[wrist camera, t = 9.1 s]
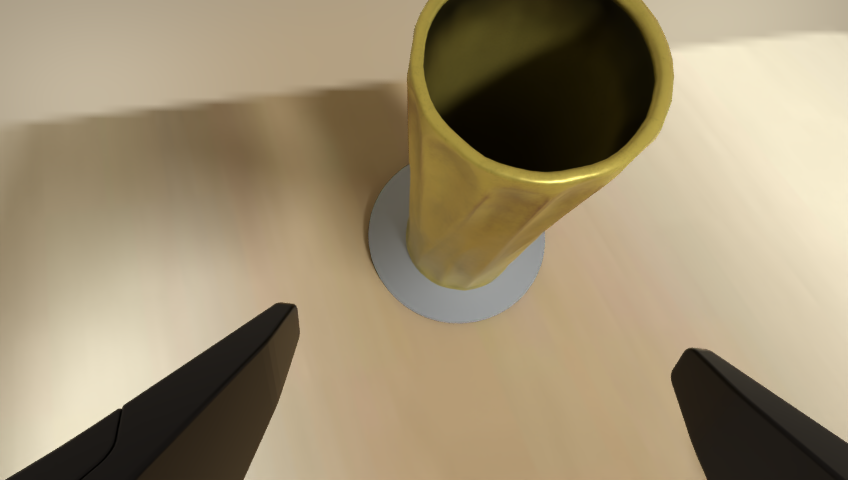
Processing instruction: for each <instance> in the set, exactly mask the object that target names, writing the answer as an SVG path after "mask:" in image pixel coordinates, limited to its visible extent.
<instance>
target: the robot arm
mask: <svg viewBox="0 0 848 480" xmlns="http://www.w3.org/2000/svg"><path fill="white" fill-rule="evenodd" d="M299 334H300V328H299V319H298V310H297V307H296V305H295V304H290V303H281V302H280V303H276V304H274V305H273V306H271V307H270V308H268V309H267V310H265V311H264V312H262V313H261V314H259V315H258V316H256V317H255V318H253V319H252V320H250V321H249V322H247V323H246V324H244V325H243V326H241V327H240V328H238V329H237V330H235V331H234V332H232V333H231V334H229V335H228V336H226V337H225V338H224V339H222V340H221V341H219V342H218V343H216V344H215V345H213V346H212V347H210V348H209V349H207V350H206V351H204V352H203V353H201V354H200V355H198V356H197V357H195V358H194V359H192V360H191V361H189V362H188V363H186V364H185V365H183V366H182V367H180V368H179V369H177V370H176V371H174V372H173V373H171V374H170V375H168V376H167V377H165V378H164V379H162V380H161V381H159V382H158V383H156V384H155V385H153V386H152V387H150V388H149V389H147V390H146V391H144V392H143V393H141V394H140V395H138V396H137V397H135V398H134V399H132V400H131V401H129V402H128V403H126V404H125V405H124V406H123V407H122V409H117V410H116V411H114V412H113V413H111V414H110V415H108V416H107V417H105V418H104V419H102V420H101V421H99V422H98V423H96V424H95V425H93V426H91V427H90V428H88V429H87V430H85V431H84V432H82V433H81V434H79V435H77V436H76V437H74V438H73V439H71V440H70V441H68V442H67V443H65V444H63V445H62V446H60V447H59V448H57V449H55V450H54V451H52V452H51V453H49V454H47V455H46V456H44V457H42V458H41V459H39V460H37V461H36V462H34V463H32V464H31V465H29V466H27V467H26V468H24V469H22V470H21V471H19V472H17V473H16V474H14V475H12V476H11V477H9V478H7V479H6V480H244V478H245V475H246V473H247V471H248V469H249V466H250V464H251V462H252V460H253V458H254V455H255V453H256V451H257V449H258V446H259V444H260V442H261V440H262V438H263V435H264V433H265V431H266V429H267V426H268V424H269V422H270V420H271V418H272V415H273V413H274V411H275V408H276V406H277V404H278V401H279V398H280V395H281V392H282V389H283V386H284V383H285V380H286V377H287V374H288V371H289V368H290V365H291V362H292V358H293V355H294V352H295V349H296V346H297V343H298V340H299ZM671 381H672V385H673V388H674V391H675V394H676V397H677V400H678V403H679V406H680V409H681V412H682V415H683V418H684V421H685V424H686V427H687V430H688V433H689V436H690V439H691V442H692V445H693V447H694V450H695V452H696V455H697V457H698V460H699V462H700V464H701V467H702V469H703V471H704V473H705V476H706V478H707V480H848V443H847V442H845V441H844V440H842V439H841V438H839V437H838V436H836V435H835V434H833V433H832V432H830V431H829V430H827V429H826V428H824V427H823V426H821V425H820V424H818V423H817V422H815V421H814V420H812V419H811V418H810V417H808V416H807V415H805V414H804V413H802V412H801V411H799V410H798V409H796V408H795V407H793V406H792V405H790V404H789V403H787V402H786V401H784V400H783V399H781V398H780V397H778V396H777V395H775V394H774V393H773V392H771V391H770V390H768V389H767V388H765V387H764V386H762V385H761V384H759V383H758V382H756V381H755V380H753V379H752V378H750V377H749V376H747V375H746V374H744V373H743V372H741V371H740V370H738V369H737V368H735V367H734V366H733V365H731V364H730V363H728V362H727V361H725V360H724V359H722V358H721V357H719V356H718V355H716V354H715V353H713V352H712V351H710V350H707V349H700V348H688V349H686V350H685V351H684V353H683V354H682V356H681V357H680V359H679V361H678V362H677V364H676V365H675V367H674V368H673V370H672V373H671Z"/></svg>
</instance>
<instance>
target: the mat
mask: <svg viewBox="0 0 848 480" xmlns="http://www.w3.org/2000/svg"><path fill="white" fill-rule="evenodd" d="M409 195H410V164H409V165H407V166H406V167H404V168H403V169H401V170H400V171H399V172H398V173H396V174H395V175H394V176H393V177H392V178H391V179H390V180H389V182H388V183H387V184H386V185H385V187H384V188H383V189H382V191H381V192H380V194H379V196H378V198H377V200H376V202H375V204H374V207H373V210H372V213H371V218H370V222H369V234H368V237H369V248H370V253H371V258H372V261H373V264H374V266H375V269H376V271H377V273H378V275H379V277H380V279H381V280H382V282H383V283H384V285H385V286H386V288H387V289H388V290H389V291H390V292H391V294H392V295H393V296H394V297H395V298H396V299H397V300H398V301H400V302H401V303H402V304H403V305H404V306H406V307H407V308H409V309H410V310H412V311H414V312H415V313H417V314H419V315H422V316H424V317H426V318H429V319H432V320H436V321H440V322H446V323H469V322H476V321H480V320H484V319H487V318H490V317H492V316H495V315H497V314H499V313H501V312H503V311H505V310H506V309H508V308H509V307H511V306H512V305H513V304H514V303H516V302H517V301H518V300H519V299H520V298H521V297H522V296H523V295H524V294H525V293H526V291H527V290H528V289H529V287H530V286H531V285H532V283H533V281H534V280H535V278H536V276H537V274H538V271H539V269H540V266H541V263H542V259H543V255H544V247H545V231H544V232H543V233H542V234H541V235H540V236H539V237H538V238H537V239H536V240H535V241H534V242H533V243H532V244H530V245H529V246H528V247H527V248H526V249H525V250H524V251H523V252H522V253H521V254H520V255H519V256H518V257H517V258H516V259H515V260H514V261H513V262H511V263H510V264H509V265H508V267H507V268H506V269H505V270H504V271H503V272H502V273H501V274H500V275H499V276H498V277H497V278H496V279H495V280H493V281H492V282H491V283H489V284H487V285H485V286H482V287H479V288H476V289H471V290H465V291H463V290H456V289H450V288H445V287H442V286H439V285H437V284H435V283H433V282H431V281H430V280H429V279H427V278H426V277H425V276H424V275H423V274H421V273H420V272H419V270H418V269H417V268H416V267H415V265H414V264H413V262H412V260H411V258H410V256H409V253H408V250H407V245H406V228H407V221H408V218H409Z"/></svg>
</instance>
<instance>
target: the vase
mask: <svg viewBox="0 0 848 480" xmlns="http://www.w3.org/2000/svg"><path fill="white" fill-rule="evenodd" d="M673 80H674V72H673V61H672V56H671V52H670V49H669V45H668V43H667V40H666V38H665V35H664V33H663V31H662V29H661V27H660V25H659V23H658V21H657V19H656V18H655V17H654V15H653V14H652V12H651V11H650V10H649V9H648V7H647V6H646V5H645V3H644V2H643V1H642V0H428V2H427V3H426V5H425V7H424V8H423V10H422V12H421V13H420V16H419V18H418V21H417V23H416V26H415V29H414V35H413V43H412V49H411V55H410V63H409V68H408V73H407V92H408V145H409V164H410V195H409V218H408V221H407V228H406V245H407V250H408V253H409V256H410V258H411V260H412V262H413V264H414V265H415V267H416V268H417V269H418V270H419V272H420V273H421V274H423V275H424V276H425V277H426V278H427V279H429V280H430V281H431V282H433V283H435V284H437V285H439V286H442V287H445V288H450V289H456V290H463V291H465V290H471V289H476V288H479V287H482V286H485V285H487V284H489V283H491V282H492V281H493V280H495V279H496V278H497V277H498V276H499V275H500V274H501V273H502V272H503V271H504V270H505V269H506V268H507V267H508V265H509V264H510V263H511V262H513V261H514V260H515V259H516V258H517V257H518V256H519V255H520V254H521V253H522V252H523V251H524V250H525V249H526V248H527V247H528V246H529V245H530V244H532V243H533V242H534V241H535V240H536V239H537V238H538V237H539V236H540V235H541V234H542V233H543V232H544V231H545V230H547V229H548V228H549V227H551V226H552V225H553V224H554V223H556V222H557V221H558V220H559V219H560V218H562V217H563V216H564V215H566V214H567V213H569V212H570V211H571V210H573V209H574V208H575V207H577V206H578V205H579V204H581V203H582V202H583V201H585V200H586V199H587V198H589V197H590V196H591V195H593V194H594V193H595V192H597V191H598V190H600V189H601V188H602V187H604V186H605V185H606V184H608V183H609V182H610V181H611V180H612V179H614V178H615V177H616V176H617V175H618V174H619V173H620V172H621V171H622V170H623V169H624V168H625V167H626V166H627V165H628V164H629V163H630V162H631V161H632V160H633V159H634V158H635V157H637V156H638V155H639V154H640V153H641V152H642V151H643V150H644V149H645V148H646V147H647V146H648V145H649V144H650V143H652V142H653V141H654V140H655V139H656V137H657V136H658V134H659V133H660V131H661V128H662V126H663V123H664V121H665V118H666V115H667V113H668V110H669V107H670V105H671V102H672V92H673Z"/></svg>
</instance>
